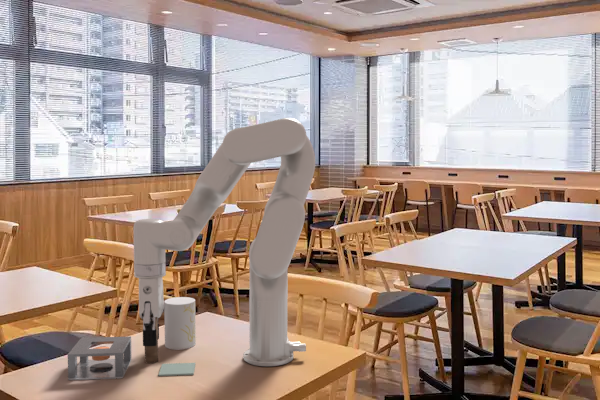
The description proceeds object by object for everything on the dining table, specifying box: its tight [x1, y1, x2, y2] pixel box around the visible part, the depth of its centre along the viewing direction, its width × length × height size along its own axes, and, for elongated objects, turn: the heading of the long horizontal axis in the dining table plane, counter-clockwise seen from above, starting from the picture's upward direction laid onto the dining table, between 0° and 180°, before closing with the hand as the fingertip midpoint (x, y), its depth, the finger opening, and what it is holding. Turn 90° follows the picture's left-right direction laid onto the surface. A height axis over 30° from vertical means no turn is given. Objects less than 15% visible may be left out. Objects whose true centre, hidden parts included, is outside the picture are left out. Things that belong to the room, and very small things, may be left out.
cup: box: [163, 296, 197, 351], centre depth 160 cm, size 8×8×12 cm
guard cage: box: [67, 336, 133, 381], centre depth 141 cm, size 12×12×6 cm
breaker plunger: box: [91, 345, 111, 361], centre depth 141 cm, size 4×4×2 cm
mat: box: [158, 362, 196, 377], centre depth 142 cm, size 8×7×1 cm
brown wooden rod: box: [144, 315, 159, 364], centre depth 147 cm, size 3×3×13 cm
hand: (151, 341), depth 147 cm, fingers open, 3 cm apart
